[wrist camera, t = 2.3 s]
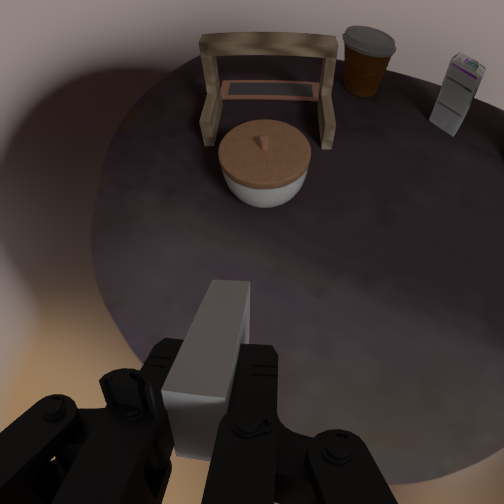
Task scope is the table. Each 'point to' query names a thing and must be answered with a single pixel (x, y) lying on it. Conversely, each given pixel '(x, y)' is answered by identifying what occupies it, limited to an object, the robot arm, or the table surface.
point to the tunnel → (267, 46)
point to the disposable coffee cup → (366, 59)
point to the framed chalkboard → (270, 90)
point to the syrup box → (456, 93)
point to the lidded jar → (264, 162)
